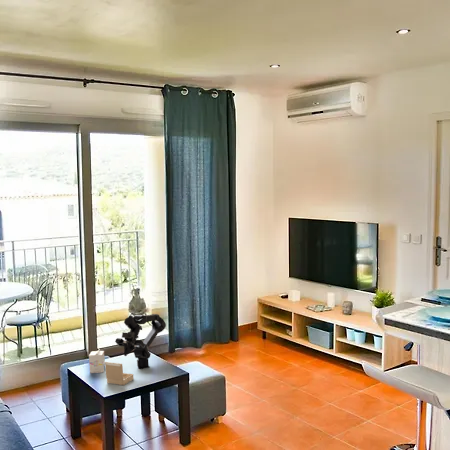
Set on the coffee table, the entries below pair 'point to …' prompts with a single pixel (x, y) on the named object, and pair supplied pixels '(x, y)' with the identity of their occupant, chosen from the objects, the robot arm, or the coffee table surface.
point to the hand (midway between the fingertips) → (124, 355)
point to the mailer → (126, 379)
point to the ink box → (97, 361)
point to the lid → (114, 371)
